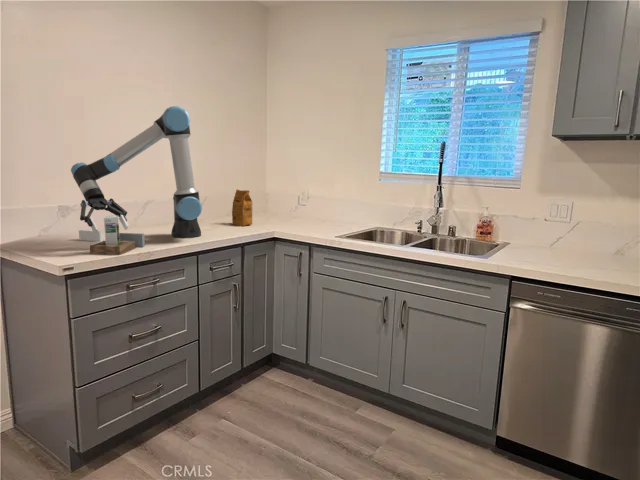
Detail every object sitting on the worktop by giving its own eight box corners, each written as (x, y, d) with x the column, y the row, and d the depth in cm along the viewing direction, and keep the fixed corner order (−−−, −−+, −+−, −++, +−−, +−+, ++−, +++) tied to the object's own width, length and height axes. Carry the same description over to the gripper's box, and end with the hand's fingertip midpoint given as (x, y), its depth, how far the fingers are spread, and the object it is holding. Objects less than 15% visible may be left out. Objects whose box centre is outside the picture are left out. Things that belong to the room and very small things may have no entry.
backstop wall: (144, 246, 205) (144, 233, 204) (142, 247, 203) (141, 234, 202) (111, 245, 206) (110, 232, 205) (109, 245, 204) (108, 233, 203)
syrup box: (105, 250, 189) (103, 217, 186) (106, 248, 194) (103, 215, 192) (120, 249, 191) (118, 216, 189) (120, 247, 196) (118, 214, 194)
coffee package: (242, 223, 284) (241, 188, 280) (254, 225, 276) (254, 190, 272) (229, 224, 277) (228, 189, 273) (242, 226, 269) (241, 190, 265)
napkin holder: (109, 241, 217) (108, 230, 216) (84, 244, 209) (83, 232, 208) (97, 237, 227) (96, 226, 226) (73, 240, 219) (72, 228, 218)
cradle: (135, 248, 199) (134, 241, 198) (120, 254, 186) (119, 246, 185) (107, 247, 200) (106, 240, 199) (90, 253, 187) (89, 245, 186)
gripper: (116, 196, 209) (135, 231, 203) (60, 199, 189) (79, 238, 183) (121, 186, 205) (141, 221, 199) (64, 188, 185) (85, 227, 179)
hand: (112, 229), depth 191 cm, fingers open, 13 cm apart
